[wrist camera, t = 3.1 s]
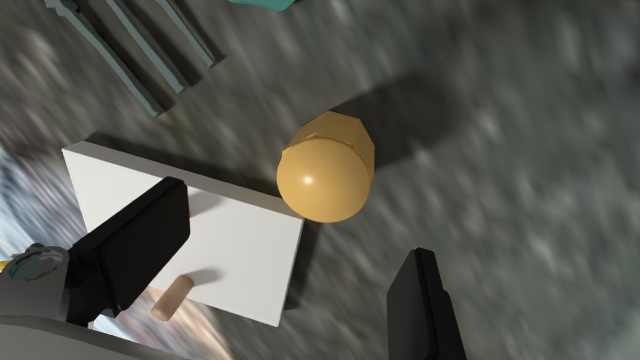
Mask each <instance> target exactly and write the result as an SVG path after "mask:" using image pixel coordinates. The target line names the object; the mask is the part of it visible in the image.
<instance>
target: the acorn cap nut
mask: <svg viewBox="0 0 640 360" xmlns="http://www.w3.org/2000/svg"><path fill="white" fill-rule="evenodd" d="M374 152H375V145H374V144H373V142H372V140H371V139H370V137H369V135H368V133H367V131H366V130H365V128H364V126H363V124H362V123H361V121H360V119H358V118H354V117H351V116H347V115H343V114H339V113H336V112H332V111H327V112H325V113H324V114H322V115H320V116H319V117H317V118H315V119H313V120H312V121H310V122H308V123H307V124H305V125H303V126H302V127H301V128H300V130H299V131H298V132H297V133H296V135H295V136H294V137H293V138H292V140H291V141H290V142H289V143H288V145H287V146H286V147H285V148H284V150H283V153H282V160H281V162H280V164H279V166H278V170H277V184H278V188H279V191H280V194H281V196H282V197H283V199H284V200H285V202H286V203H287V204H288V205H289V207H291V208H292V209H293V210H294V211H295V212H297V213H298V214H300V215H301V216H303V217H305V218H307V219H310V220H313V221H317V222H328V223H330V222H338V221H342V220H345V219H347V218H349V217H351V216H353V215H354V214H356V213H357V212H358V211H359V210H360V209H361V208H362V207H363V205H364V203H365V202H366V199H367V197H368V194H369V187H370V185H371V182H372V179H373V177H374Z"/></svg>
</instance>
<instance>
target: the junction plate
mask: <svg viewBox="0 0 640 360" xmlns="http://www.w3.org/2000/svg"><path fill="white" fill-rule="evenodd" d="M62 151H63V155H64V158H65V161H66V164H67V167H68V170H69V174H70V177H71V180H72V183H73V186H74V190H75V193H76V196H77V199H78V202H79V205H80V209H81V212H82V215H83V218H84V221H85V225H86V228H87V231H88V233H90V232H91V231H92V230H94V229H95V228H96V227H98V226H99V225H101V224H102V223H103V222H105V221H106V220H107V219H109V218H110V217H111V216H113V215H114V214H116V213H117V212H118V211H120V210H121V209H122V208H124V207H125V206H127V205H128V204H129V203H131V202H132V201H133V200H135V199H136V198H137V197H139V196H140V195H142V194H143V193H144V192H146V191H147V190H148V189H150V188H151V187H153V186H154V185H155V184H157V183H158V182H159V181H161V180H162V179H163V178H165V177H167V176H171V177H175V178H178V179H182V180H183V181H184V183H185V184H186V185H187V187H188V201H189V216H190V230H191V232H190V236H189V238H188V240H187V241H186V242H185V244H184V245H183V246H182V247H181V248H180V249H179V250H178V252H177V253H176V254H175V255H174V256H173V257H172V259H171V260H170V261H169V262H168V263H167V264H166V265H165V267H164V268H163V269H162V270H161V271H160V272H159V273H158V275H157V276H156V277H155V278H154V279H153V280H152V282H151V283H150V284H149V285H148V286H151V287H154V288H157V289H160V290H163V291H166V292H165V293H164V294H163V295H162V297H161V298H160V299H159V300H158V301H157V303H156V304H155V305H154V306H153V308H152V309H151V313H152V315H153V316H154V317H156V318H157V319H159V320H162V321H168V320H170V318H171V317H172V315H173V314H174V313H175V311H176V310H177V309H178V307H179V306H180V304H181V303H182V302H183V300H184V299H185V298H188V299H191V300H194V301H198V302H201V303H204V304H207V305H210V306H213V307H216V308H219V309H223V310H226V311H229V312H232V313H235V314H238V315H241V316H244V317H248V318H251V319H254V320H257V321H260V322H263V323H266V324H269V325H272V326H276V327H278V324H279V321H280V318H281V315H282V312H283V309H284V305H285V300H286V296H287V292H288V288H289V284H290V279H291V275H292V271H293V267H294V263H295V258H296V254H297V250H298V246H299V242H300V237H301V233H302V229H303V225H304V221H305V217H303V216H301V215H300V214H298V213H297V212H295V211H294V210H293V209H292V208H291V207H289V205H288V204H287V203H286V202H285V200H284V199H281V198H278V197H274V196H271V195H268V194H264V193H261V192H257V191H254V190H250V189H247V188H244V187H240V186H237V185H233V184H230V183H227V182H223V181H220V180H216V179H213V178H209V177H206V176H203V175H199V174H196V173H192V172H189V171H186V170H182V169H179V168H175V167H172V166H168V165H165V164H162V163H158V162H155V161H151V160H148V159H145V158H141V157H138V156H134V155H131V154H127V153H124V152H121V151H117V150H114V149H110V148H107V147H104V146H100V145H97V144H93V143H90V142H86V141H81V142H78V143H75V144H73V145H70V146H67V147H65V148H62Z"/></svg>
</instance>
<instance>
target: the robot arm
mask: <svg viewBox="0 0 640 360" xmlns="http://www.w3.org/2000/svg"><path fill="white" fill-rule="evenodd" d="M190 232H191V230H190V216H189V201H188V187H187V185H186V184H185V183H184V181H183V180H182V179H178V178H175V177H171V176H167V177H165V178H163V179H162V180H161V181H159V182H158V183H157V184H155V185H154V186H153V187H151V188H150V189H148V190H147V191H146V192H144V193H143V194H142V195H140V196H139V197H137V198H136V199H135V200H133V201H132V202H131V203H129V204H128V205H127V206H125V207H124V208H122V209H121V210H120V211H118V212H117V213H116V214H114V215H113V216H111V217H110V218H109V219H107V220H106V221H105V222H103V223H102V224H101V225H99V226H98V227H96V228H95V229H94V230H92V231H91V232H90V233H88V234H87V235H86V236H84V237H83V238H81V239H80V240H79V241H77V242H76V243H75V244H73V247H72V248H70V249H69V250H68V251H67V250H66V249H63V248H61V247H55V246H48V247H41V248H37V249H33V250H30V251H28V252H25V253H23V254H21V255H19V256H17V257H16V258H14V259H12V260H11V261H10V262H9V263H8V264H7V265H6V266H5V267H4V269H3V270H2V272H1V273H0V360H190V359H187V358H184V357H180V356H177V355H174V354H171V353H168V352H164V351H161V350H158V349H155V348H151V347H148V346H145V345H142V344H139V343H135V342H132V341H129V340H126V339H122V338H119V337H116V336H113V335H109V334H106V333H102V332H99V331H95V330H93V324H94V320H95V319H96V318H97V317H98V316H99V315H100V314H102V315H105V316H108V317H111V318H116V316H117V315H118V314H119V313H120V312H121V311H124V310H126V309H128V308H129V307H130V306H131V305H132V303H133V302H134V301H135V300H136V299H137V298H138V297H139V295H140V294H141V293H142V292H143V291H144V290H145V288H146V287H147V286H148V285H149V284H150V283H151V282H152V280H153V279H154V278H155V277H156V276H157V275H158V273H159V272H160V271H161V270H162V269H163V268H164V267H165V265H166V264H167V263H168V262H169V261H170V260H171V259H172V257H173V256H174V255H175V254H176V253H177V252H178V250H179V249H180V248H181V247H182V246H183V245H184V244H185V242H186V241H187V240H188V238H189V236H190ZM387 323H388V348H389V360H467V358H466V355H465V351H464V347H463V343H462V340H461V336H460V332H459V329H458V325H457V321H456V318H455V314H454V310H453V306H452V303H451V299H450V296H449V294H448V292H447V291H445V290H444V289H443V285H442V281H441V278H440V274H439V270H438V266H437V262H436V258H435V254H434V252H433V251H430V250H427V249H423V248H420V247H418V248H416V250H413V249H412V250H411V251H410V253H409V254H408V256H407V258H406V260H405V262H404V263H403V265H402V267H401V269H400V271H399V272H398V274H397V276H396V278H395V279H394V281H393V283H392V285H391V287H390V288H389V290H388V293H387Z"/></svg>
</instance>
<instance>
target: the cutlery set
mask: <svg viewBox="0 0 640 360" xmlns="http://www.w3.org/2000/svg"><path fill="white" fill-rule="evenodd" d="M44 1H45V2H46V7H48V8H56V11H57V13H58V15H59V16H66V17H67V18H68V19H69V21H70V22H71V23H72V24H73V25H74V26H75V27H76V28H77V29H78V30H79V31H80V32H81V34H82V35H83V36H84V37H85V38H86V39H87V40H88V41H89V42H90V43H91V44H92V45H93V46H94V47H95V48H96V49H97V50H98V51H99V52H100V53H101V55H102V56H103V57H104V58H105V59H106V60H107V62H108V63H109V64H110V65H111V66H112V68H113V69H114V70H115V71H116V73H117V74H118V75H119V76H120V77H121V79H122V80H123V81H124V83H125V84H126V85H127V87H128V88H129V89H130V91H131V92H132V93H133V94H134V96H135V97H136V98H137V99H138V100H139V101H140V102H141V104H142V105H143V106H144V107H145V108H146V110H147V111H148V112H149V114H150V115H151V116H152V117H153V118H154V117H157V116H159V115H161V114H162V113H163V112H164V110H163V108H162V107H161V106H160V105H159V104H158V103H157V102H156V101H155V100H154V99H153V98H152V97H151V95H150V94H149V93H148V92H147V91H146V90H145V89H144V87H143V86H142V85H141V84H140V82H139V81H138V80H137V79H136V77H135V76H134V75H133V73H132V72H131V71H130V70H129V69H128V67H127V66H126V65H125V64H124V63H123V62H122V60H121V59H120V58H119V57H118V56H117V55H116V53H115V52H114V51H113V50H112V49H111V48H110V46H109V45H108V44H107V43H106V42H105V41H104V40H103V39H102V38H101V37H100V36H99V35H98V34H97V33H96V32H95V31H94V30H93V29H92V28H91V27H90V26H89V25H88V24H87V23H86V22H85V21H84V20H83V19H82V18H81V17H80V15H79V14H78V13H77V12H76V10H77V9H78V6H77V5H76V3H74V2H73V0H44ZM106 1H107V2H108V4H109V5H110V6H111V8H112V9H113V10H114V12H115V13H116V14H117V16H118V17H119V18H120V20H121V21H122V23H123V24H124V25H125V27H126V28H127V30H128V31H129V33H130V34H131V35H132V37H133V38H134V39H135V41H136V42H137V43H138V44H139V46H140V47H141V48H142V49H143V51H144V52H145V53H146V54H147V56H148V57H149V58H150V60H151V61H152V62H153V63H154V65H155V66H156V67H157V69H158V70H159V71H160V72H161V74H162V75H163V76H164V78H165V79H166V80H167V81H168V83H169V84H170V85H171V86H172V88H173V89H174V90H175V92H176V93H177V94H180V93H182V92H184V91H185V90H186V89H187V88H188V87H189V86H188V85H187V84H186V83H185V82H184V81H183V79H182V78H181V77H180V76H179V75H178V74H177V72H176V71H175V70H174V69H173V68H172V67H171V66H170V65H169V64H168V62H167V61H166V60H165V59H164V58H163V56H162V55H161V54H160V53H159V52H158V51H157V49H156V48H155V47H154V46H153V45H152V43H151V42H150V41H149V40H148V39H147V38H146V36H145V35H144V34H143V33H142V32H141V31H140V29H139V28H138V27H137V26H136V24H135V23H134V22H133V20H132V19H131V18H130V16H129V15H128V14H127V13H126V11H125V10H124V9H123V8H122V6H121V5H120V4H119V3H118V2H117V0H106ZM156 1H157V2H158V3H159V4H160V5H161V6H162V7H163V8H164V10H165V11H166V12H167V13H168V15H169V16H170V17H171V19H172V20H173V21H174V22H175V23H176V25H177V26H178V27H179V28H180V29H181V30H182V31H183V32H184V34H185V35H186V36H187V37H188V38H189V40H190V41H191V42H192V44H193V45H194V47H195V48H196V49H197V51H198V52H199V54H200V55H201V56H202V58H203V59H204V61H205V62H206V63H207V68H212V67H214V66H215V65H216V64H217V63H218V61H215V60H213V59H212V57H211V56H210V55H209V54H208V53H207V51H206V50H205V49H204V48H203V47H202V45H201V44H200V43H199V42H198V40H197V39H196V38H195V37H194V36H193V34H192V33H191V32H190V30H189V29H188V27H187V26H186V24H185V23H184V21H183V20H182V19H181V17H180V16H179V14H178V13H177V12H176V10H175V9H174V8H173V7H172V5H171V4H170V3H169V1H168V0H156ZM228 1H230V2H232V3H244V4H252V5H257V6H262V7H265V8H268V9H272V10H275V11H278V12H280V11H282V10H285V9H286V8H287V7H288V6H289V5H290V4H292V3H293V2H294V1H295V0H228Z"/></svg>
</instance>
